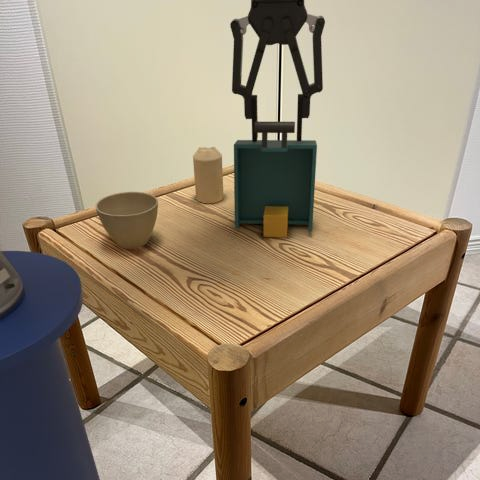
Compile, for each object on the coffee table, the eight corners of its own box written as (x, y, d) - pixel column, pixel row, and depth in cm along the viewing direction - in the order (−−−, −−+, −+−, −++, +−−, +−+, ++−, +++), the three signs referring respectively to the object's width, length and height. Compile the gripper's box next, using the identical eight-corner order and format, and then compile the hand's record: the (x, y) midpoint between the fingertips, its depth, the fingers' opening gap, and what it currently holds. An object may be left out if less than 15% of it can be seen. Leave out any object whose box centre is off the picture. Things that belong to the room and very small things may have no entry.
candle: (223, 192, 105) (221, 142, 99) (224, 203, 100) (222, 151, 94) (196, 193, 105) (192, 144, 99) (196, 204, 100) (192, 153, 94)
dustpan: (237, 116, 85) (230, 122, 77) (317, 116, 84) (319, 122, 75) (237, 220, 93) (232, 236, 84) (311, 221, 92) (312, 237, 83)
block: (265, 205, 89) (265, 227, 91) (263, 215, 86) (263, 237, 88) (288, 206, 88) (287, 227, 91) (287, 215, 85) (286, 237, 88)
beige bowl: (118, 262, 82) (111, 221, 78) (93, 240, 88) (85, 200, 84) (173, 244, 86) (168, 204, 82) (145, 224, 93) (140, 186, 89)
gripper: (347, -37, 72) (335, 131, 86) (211, -31, 74) (220, 133, 87) (352, -35, 66) (338, 145, 80) (203, -29, 68) (215, 146, 81)
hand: (277, 138), depth 83 cm, fingers open, 6 cm apart
